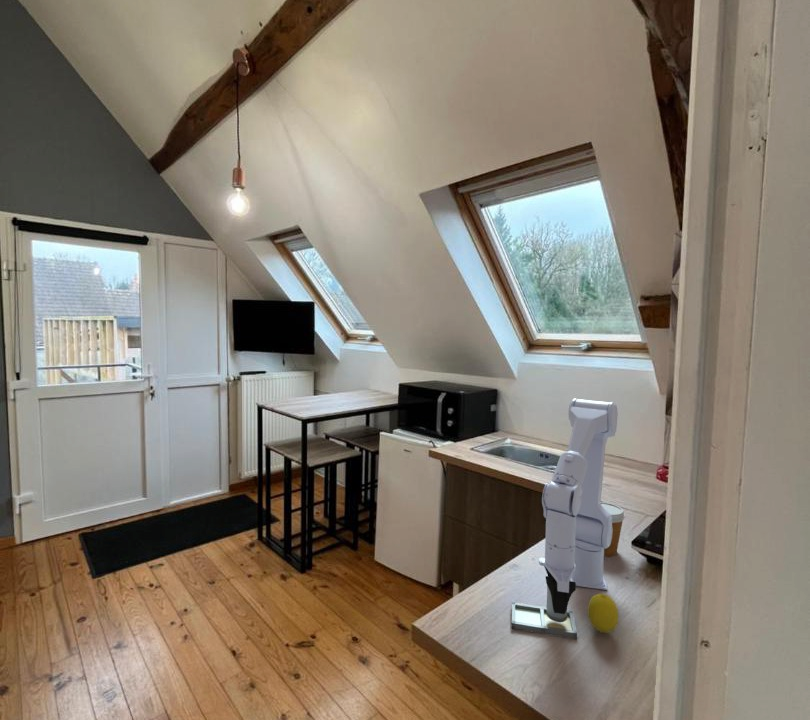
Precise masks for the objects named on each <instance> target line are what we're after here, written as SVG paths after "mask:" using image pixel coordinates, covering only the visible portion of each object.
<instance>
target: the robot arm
mask: <svg viewBox="0 0 810 720" xmlns="http://www.w3.org/2000/svg"><path fill="white" fill-rule="evenodd" d="M568 420H569V423H570V426H571V427H572V430H571V435H570V439H569V443H568V449H567V451H566V452H563V453H561V454H560V456H559V459H558V462H557V464H556V466H555V470H554V473H553V476H552V478H551V481H550V482H546V483H545V485H544V487H543V490H542V496H541V504H542V509H543V517H544V518H545V520H546V521H545V543H544V544H545V545H544V546H545V547H544V557H539V558H538V564H539V565H540V566H543V567H544V569H545V571H546V574H547V575H545V583H546V585H547V586H548V588H549V590H550V593H551V597H552V605H553V610H554V613H559V614H565V612H566V609H567V610H568V605H569V601H570V598H571V597H572V595H573V594H574V593H575V591H576V589H577V587H581V588H582V587H583V588H587V589H589V588H590V589H598V590H603V591H607V590H608V585H607V583H606V581H605V577H604V563H605V562H604V557H605V555H604V548H605V549H606V548H608V547H609V546H610V544H611V540H612V532H613V528H612V516H611V515H610V513H609V512H608V511H607V510H606V509H605V508H604V507H603V506H602V505H601V502H602V490H603V479H604V468H605V467H604V466H605V456H606V444H607V441H608V439H609V438H611V437H615V435H616V432H617V426H618V406H617V404H616V403H615V401H610V402H608V401H599V400H589V399H581V398H580V399H579V398H572V400H571V401H570V403H569V405H568ZM547 586H546V587H547Z"/></svg>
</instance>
